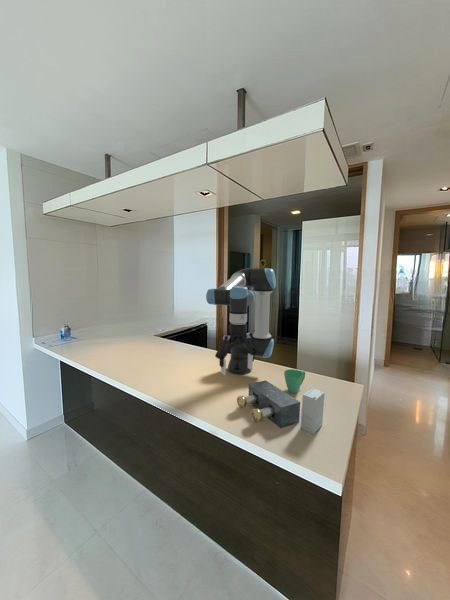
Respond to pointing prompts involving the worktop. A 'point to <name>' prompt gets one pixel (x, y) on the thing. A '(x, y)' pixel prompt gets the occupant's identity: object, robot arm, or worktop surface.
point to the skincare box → (312, 410)
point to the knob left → (247, 400)
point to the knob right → (262, 413)
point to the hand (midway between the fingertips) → (237, 371)
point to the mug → (294, 379)
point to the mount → (276, 403)
